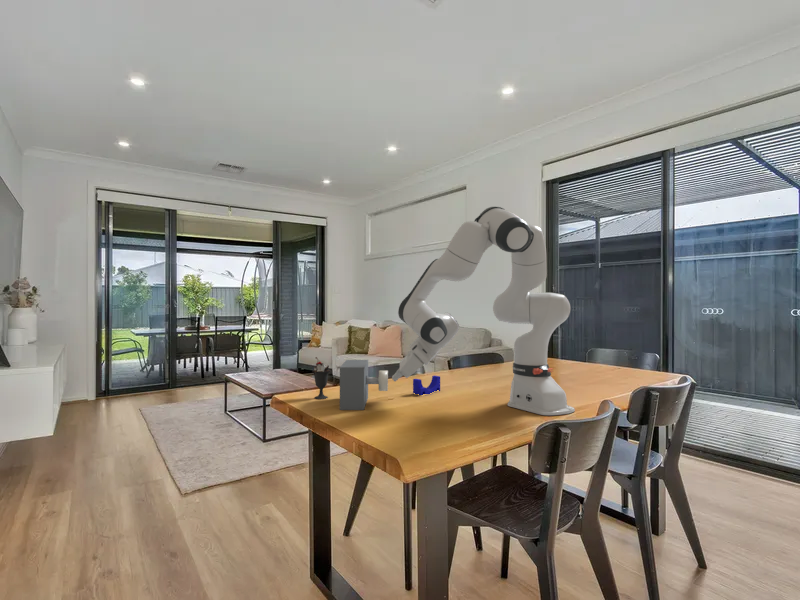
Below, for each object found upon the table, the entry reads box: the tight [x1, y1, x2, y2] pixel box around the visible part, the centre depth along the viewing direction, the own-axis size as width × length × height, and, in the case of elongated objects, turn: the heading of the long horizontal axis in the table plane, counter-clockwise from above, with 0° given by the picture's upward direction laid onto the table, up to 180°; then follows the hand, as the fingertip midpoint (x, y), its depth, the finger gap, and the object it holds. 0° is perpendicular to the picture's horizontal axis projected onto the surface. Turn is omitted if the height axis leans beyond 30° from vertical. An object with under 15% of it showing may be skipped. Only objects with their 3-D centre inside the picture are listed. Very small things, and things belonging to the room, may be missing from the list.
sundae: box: [311, 356, 331, 400], centre depth 159 cm, size 7×7×15 cm
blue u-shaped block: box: [412, 375, 441, 395], centre depth 168 cm, size 12×4×6 cm, turn 131°
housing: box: [339, 359, 369, 411], centre depth 150 cm, size 8×18×14 cm, turn 0°
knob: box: [366, 370, 389, 392], centre depth 150 cm, size 9×7×7 cm
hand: (393, 379), depth 150 cm, fingers closed
